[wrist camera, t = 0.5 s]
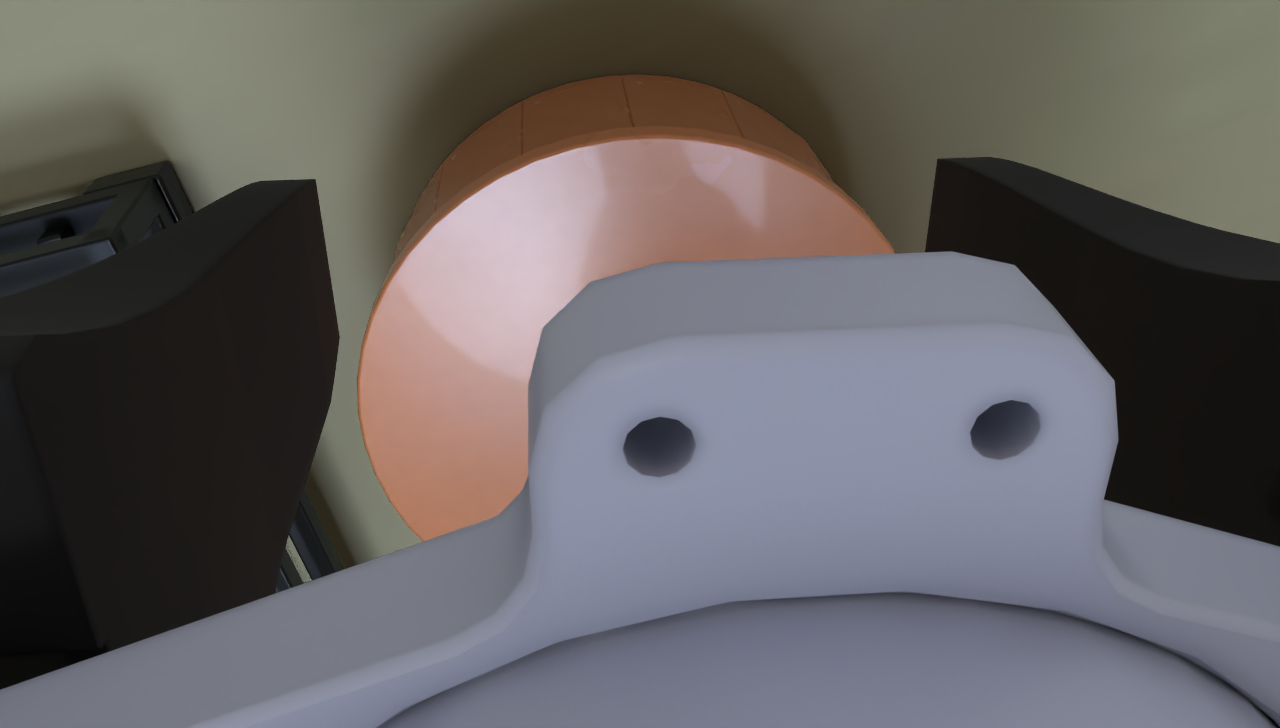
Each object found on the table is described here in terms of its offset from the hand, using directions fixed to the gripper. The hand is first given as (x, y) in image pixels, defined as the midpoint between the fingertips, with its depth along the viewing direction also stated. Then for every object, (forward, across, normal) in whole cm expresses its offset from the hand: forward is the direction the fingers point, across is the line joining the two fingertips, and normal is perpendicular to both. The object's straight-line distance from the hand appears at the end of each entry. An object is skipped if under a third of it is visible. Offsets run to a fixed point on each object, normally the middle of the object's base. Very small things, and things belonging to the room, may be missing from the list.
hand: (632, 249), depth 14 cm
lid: (+6, -1, +6) cm, 9 cm away
